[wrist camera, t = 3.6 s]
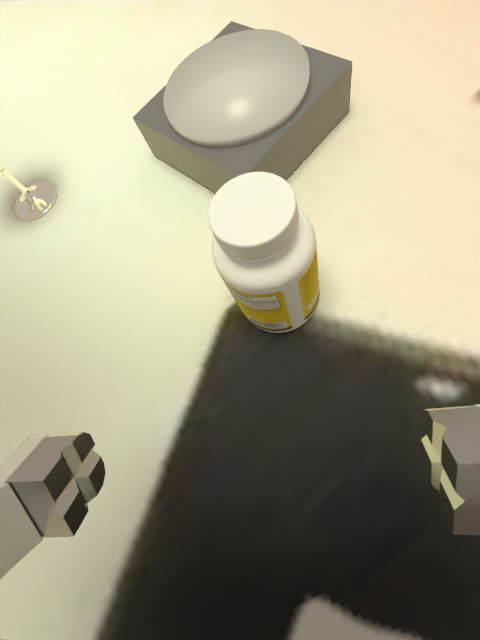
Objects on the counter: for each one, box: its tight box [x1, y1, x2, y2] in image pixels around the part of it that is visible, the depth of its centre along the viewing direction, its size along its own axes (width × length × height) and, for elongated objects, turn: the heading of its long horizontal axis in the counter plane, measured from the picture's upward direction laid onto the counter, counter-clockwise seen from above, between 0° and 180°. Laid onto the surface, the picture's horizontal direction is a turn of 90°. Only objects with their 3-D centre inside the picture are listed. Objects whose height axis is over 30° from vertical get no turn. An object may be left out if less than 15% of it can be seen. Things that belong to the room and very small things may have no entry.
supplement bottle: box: [208, 172, 319, 333], centre depth 20 cm, size 5×5×10 cm
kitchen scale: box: [133, 21, 352, 194], centre depth 28 cm, size 12×13×5 cm
